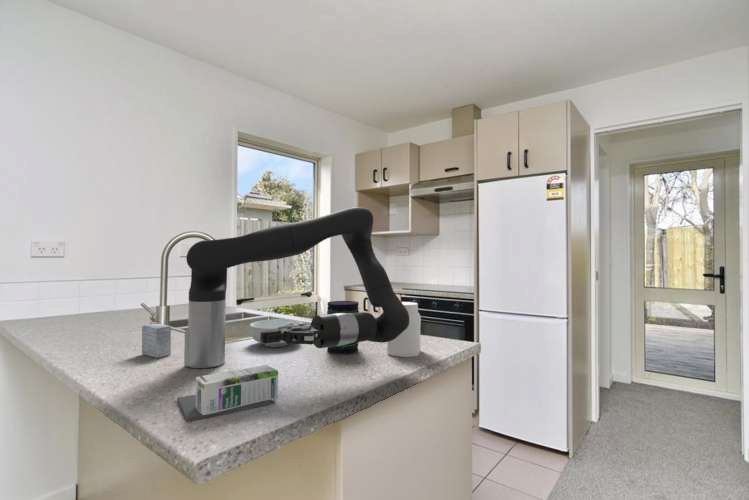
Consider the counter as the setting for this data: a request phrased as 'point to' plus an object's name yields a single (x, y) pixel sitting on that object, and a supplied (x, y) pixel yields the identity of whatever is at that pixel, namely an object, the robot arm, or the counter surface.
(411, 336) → the jar
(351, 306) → the storage jar
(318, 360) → the counter surface
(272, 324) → the cereal bowl
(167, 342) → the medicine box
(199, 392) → the syrup box
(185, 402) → the mat
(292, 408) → the counter surface
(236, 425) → the counter surface
